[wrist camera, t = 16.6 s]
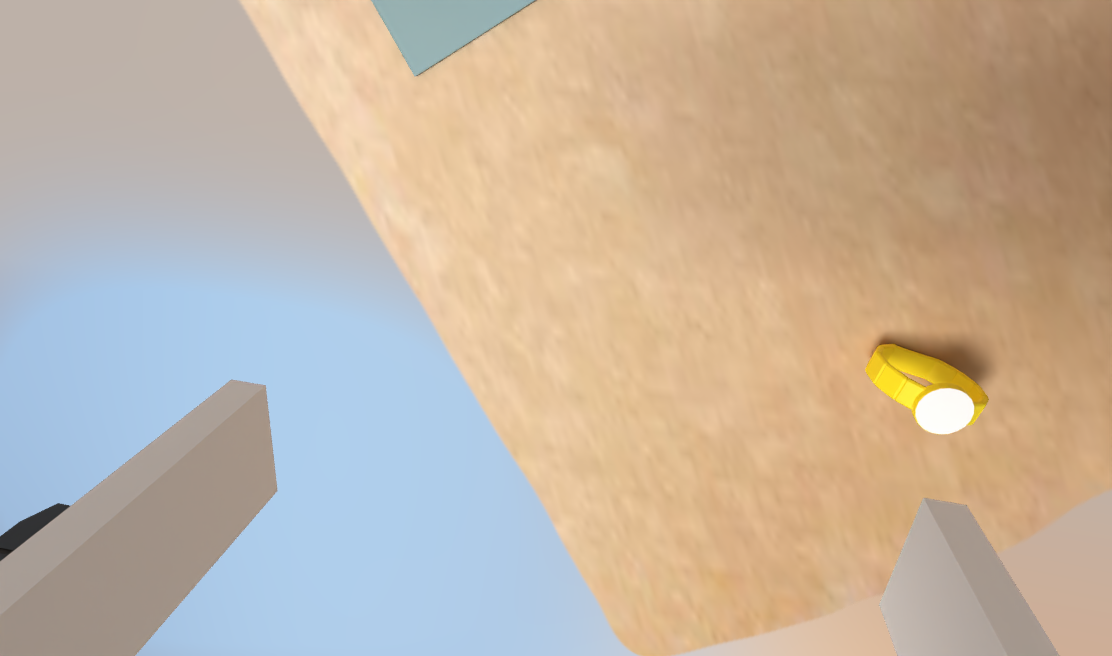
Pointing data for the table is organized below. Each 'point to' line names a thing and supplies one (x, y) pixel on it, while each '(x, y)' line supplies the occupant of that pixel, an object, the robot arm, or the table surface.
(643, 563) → the table surface
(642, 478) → the table surface
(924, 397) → the watch
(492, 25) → the pad
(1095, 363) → the table surface
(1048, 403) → the table surface
